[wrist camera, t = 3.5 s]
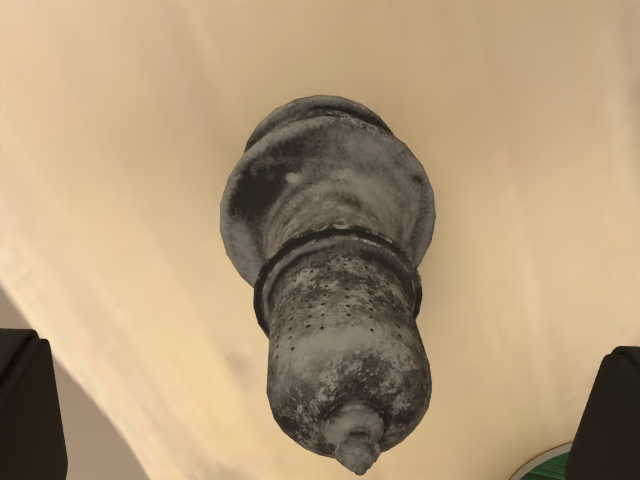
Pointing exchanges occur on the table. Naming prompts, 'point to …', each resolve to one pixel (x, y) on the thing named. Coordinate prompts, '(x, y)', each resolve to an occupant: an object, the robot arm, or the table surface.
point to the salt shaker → (335, 273)
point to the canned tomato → (545, 465)
